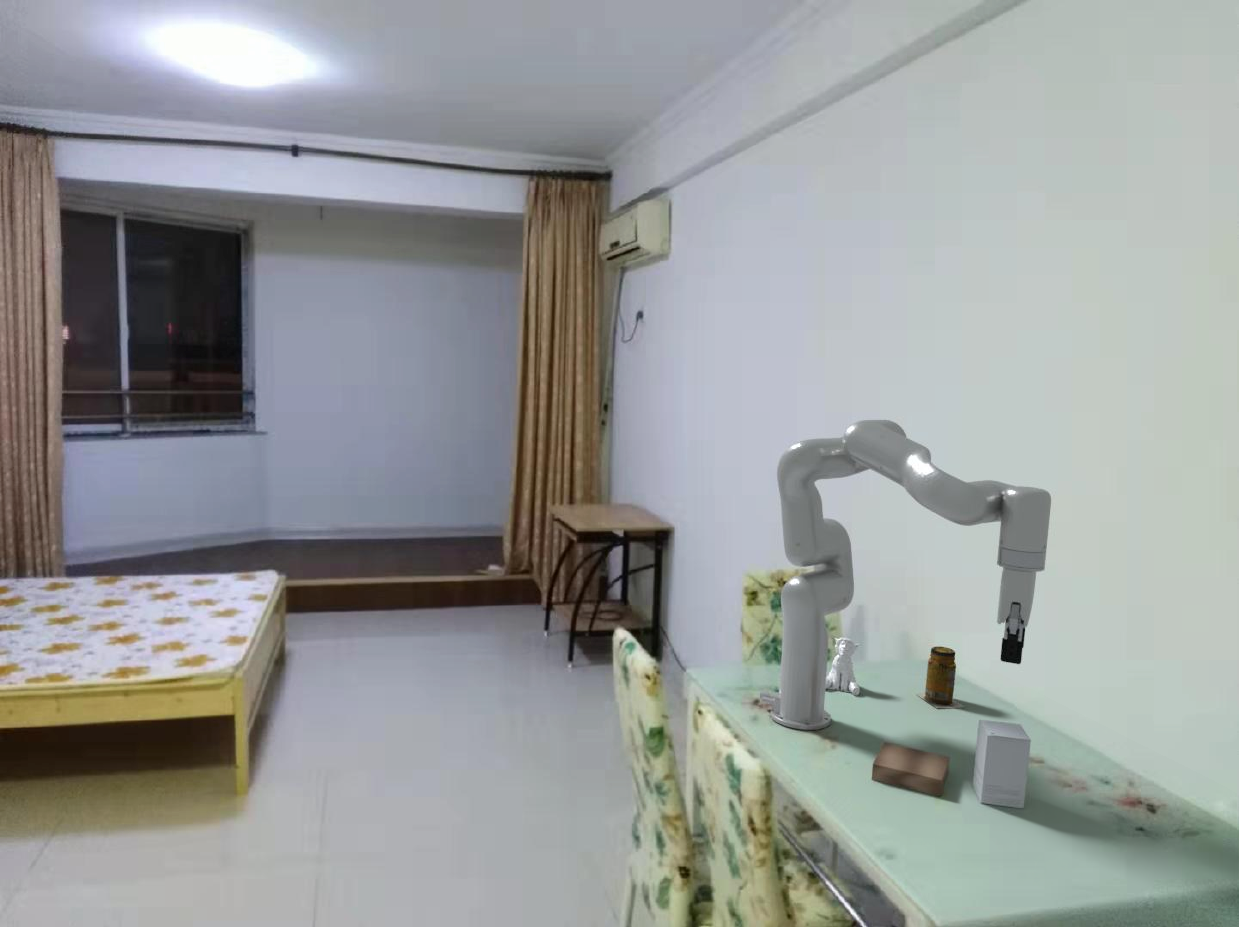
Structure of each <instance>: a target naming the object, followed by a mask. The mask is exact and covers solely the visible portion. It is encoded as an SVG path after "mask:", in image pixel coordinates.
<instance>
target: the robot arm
mask: <svg viewBox="0 0 1239 927" xmlns="http://www.w3.org/2000/svg"><path fill="white" fill-rule="evenodd" d="M869 470H872V471H873V472H876V473H878V474H879V475H881V476H883V477H884V478H886V479H889V480H891V481H892V482H894V483H896V484H898V485H900V486H901V487H903V488H904V489H905V491H906V492H907V493H908V494H909V495H910V496H911V498H913V499H914V500H915V502H917V503H918V504H919V505H921V506H922V507H923V508H925V509H927V510H928V511H930V512H932V513H934V514H936V515H938V516H940V517H941V518H944V519H945V520H947V521H949V522H951V523H955V524H956V525H959V526H966V527H970V526H975V525H982V524H986V523H987V524H988V523H995V522H996V523H997V522H1000V525H999V526H1000V528H999V539H998V548H997V549H998V550H997V561H996V565H997V566H999V567H1001V568H1002V572H1001V579H1000V586H999V588H1000V589H999V597H998V608H997V609H998V610H997V618H996V622H997V624H998V625H1001V624H1004V623H1005V626H1004V634H1003V637H1002V639H1001V649H1000V661H1001V662H1004V663H1009V664H1015V665H1021V663H1022V657H1023V656H1022V655H1023V648H1024V645H1025V634H1026V628H1027V627H1028V625H1029V621H1030V617H1031V612H1032V609H1033V603H1034V596H1035V590H1036V589H1035V588H1036V581H1037V580H1036V578H1037V572H1042V571H1043V572H1044V571H1045V568H1046V559H1047V557H1046V556H1047V547H1048V536H1049V526H1050V518H1051V508H1052V497H1051V496H1052V495H1051V494H1050V492H1049V491H1048V490H1045V489H1043V488H1040V487H1033V486H1032V487H1031V486H1016V485H1012V484H1008V483H1005V482H1001V481H997V480H993V479H992V480H991V479H989V480H988V479H986V480H977V481H976V480H975V481H968V482H966V481H964V480H962V479H959V478H958V477H956V476H953V475H951V474H949V473H948V472H946V471H944V470H942V469H940V468H938V467H937V466H936V465H934V464H933V462H932V454H931V451H930V449H929V448H927V447H926V446H925V445H923V444H921V443H918V442H916V441H914V440H912V439H910V438H908V437H907V433H906V432H905V430H904V429H903V428H902V426H901V425H899V423H896V422H895V421H892V420H889V419H863V420H859V421H856V422H854V423H852V424H851V425H849V426H848V427H847V429H846V430H845V431H844V433H843V436H841V437H832V438H831V437H829V438H821V437H820V438H810V439H804V440H800V441H798V442H796V443H794V444H792V445H791V446H789V447H788V448H787V449H786V450H785V451H784V452H783V454H782V455H781V457H780V459H779V460H778V464H777V469H776V480H777V486H778V492H779V497H780V506H781V521H782V522H781V524H782V536H783V547H784V553H785V557H786V559H787V561H788V562H789V563H791V564H792V565H793V566H796V567H799V568H801V567H802V568H803V567H804V568H806V567H813V571H808V572H804V573H800V574H797V575H794V576H793V577H791V578H789V579H788V580H787V581H786V582H785V584H784V585H783V587H782V589H781V593H780V606H781V613H782V642H781V646H782V647H781V659H780V661H781V662H780V675H779V690H778V691H775V692H770V691H769V690H767V691H766V690H761V691H760V692H759V699H760V700H761V703H762V704H769V705H772V707H771V708H770V713H769V714H770V717H771V718H772V720H773V721H775V722H776V723H778V724H779V725H783V726H784V727H788V728H791V729H797V730H805V731H812V730H814V731H815V730H820V729H824V728H826V727H828V726H829V725H830V724H831V720H832V719H831V718H832V717H831V715H830V713H829V712H828V711H827V710H825V696H826V690H825V686H826V677H827V671H828V659H829V658H828V655H829V632H828V629H827V628H828V627H827V625H826V622H825V617H826V616H828V615H831V614H835V613H838V612H841V611H843V610H845V609H846V608H848V607H849V605H851V603H852V601H853V598H854V593H855V581H854V568H853V556H852V555H853V552H852V545H851V540H850V535H849V534H848V531H847V529H846V528H845V527H844V525H843V524H841V522H839V521H837V520H835V519H832V518H824V514H823V512H824V511H823V502H822V501H823V500H822V497H821V494H820V492H819V489H818V488H817V486H816V484H815V483H816V481H820V480H829V479H832V480H833V479H840V478H841V479H842V478H847V477H850V476H853V475H857V474H860V473H862V472H863V473H864V472H865V471H869Z"/></svg>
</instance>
